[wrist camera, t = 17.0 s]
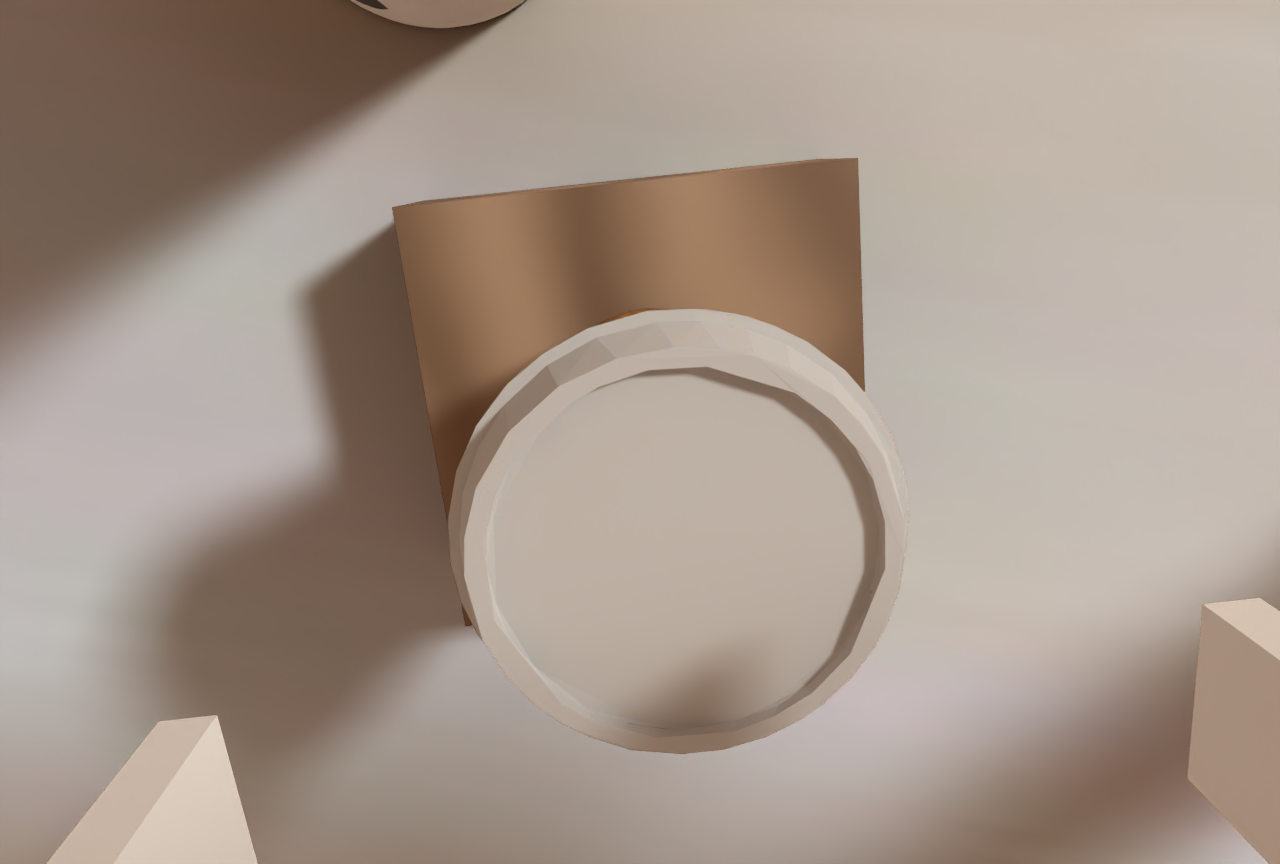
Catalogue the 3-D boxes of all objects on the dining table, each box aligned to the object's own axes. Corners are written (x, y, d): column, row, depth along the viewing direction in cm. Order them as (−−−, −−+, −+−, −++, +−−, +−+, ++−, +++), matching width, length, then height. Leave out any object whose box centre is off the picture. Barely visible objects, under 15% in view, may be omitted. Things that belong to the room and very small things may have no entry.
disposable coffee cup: (485, 267, 27) (403, 341, 16) (796, 244, 28) (936, 300, 16) (519, 553, 30) (470, 793, 19) (801, 530, 30) (924, 753, 19)
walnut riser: (819, 159, 32) (858, 158, 27) (834, 525, 36) (870, 580, 31) (423, 200, 32) (392, 207, 27) (483, 563, 36) (465, 626, 31)
